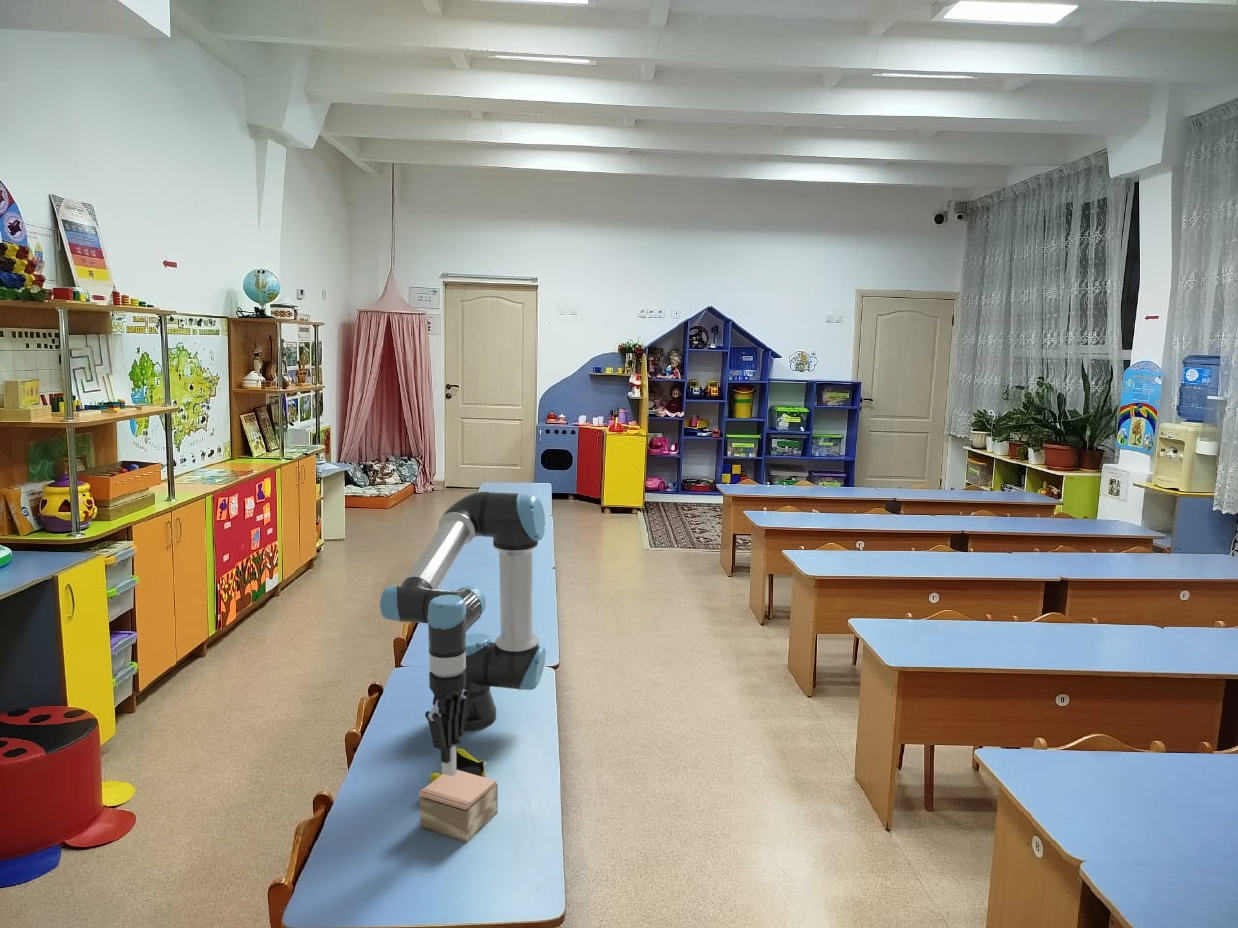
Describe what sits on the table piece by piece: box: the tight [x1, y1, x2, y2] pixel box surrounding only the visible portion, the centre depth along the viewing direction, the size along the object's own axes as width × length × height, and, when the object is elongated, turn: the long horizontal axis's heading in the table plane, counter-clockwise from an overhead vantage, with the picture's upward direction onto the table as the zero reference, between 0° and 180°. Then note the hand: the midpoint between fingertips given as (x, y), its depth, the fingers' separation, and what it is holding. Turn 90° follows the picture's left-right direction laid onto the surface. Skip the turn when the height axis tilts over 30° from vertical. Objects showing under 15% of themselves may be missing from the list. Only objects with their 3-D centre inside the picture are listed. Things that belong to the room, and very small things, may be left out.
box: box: [419, 783, 499, 843], centre depth 182 cm, size 12×12×7 cm
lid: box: [418, 770, 497, 810], centre depth 181 cm, size 12×12×1 cm
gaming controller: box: [429, 747, 487, 783], centre depth 197 cm, size 15×6×10 cm
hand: (449, 773), depth 178 cm, fingers closed
